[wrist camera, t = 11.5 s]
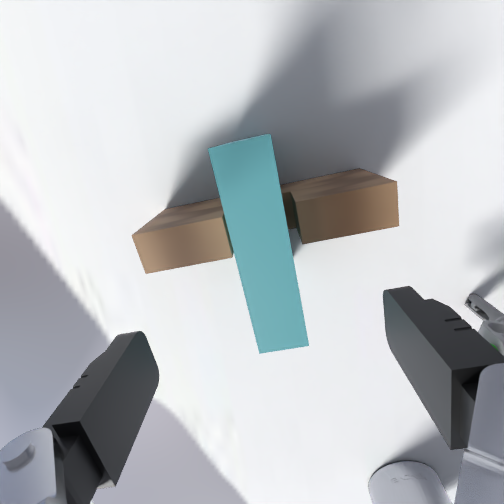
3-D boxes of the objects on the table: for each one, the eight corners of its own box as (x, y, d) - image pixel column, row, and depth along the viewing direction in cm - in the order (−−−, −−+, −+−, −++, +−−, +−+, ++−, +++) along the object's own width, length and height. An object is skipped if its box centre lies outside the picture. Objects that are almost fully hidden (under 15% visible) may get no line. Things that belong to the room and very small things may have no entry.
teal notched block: (232, 141, 27) (207, 148, 14) (266, 133, 26) (270, 134, 14) (260, 266, 31) (259, 353, 19) (290, 261, 30) (309, 345, 18)
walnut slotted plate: (359, 168, 27) (396, 181, 20) (362, 201, 28) (399, 226, 21) (165, 209, 29) (131, 235, 21) (174, 238, 30) (145, 273, 22)
